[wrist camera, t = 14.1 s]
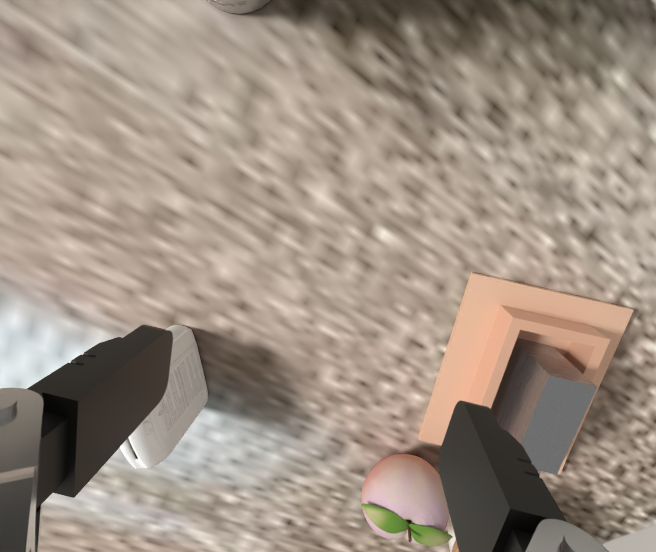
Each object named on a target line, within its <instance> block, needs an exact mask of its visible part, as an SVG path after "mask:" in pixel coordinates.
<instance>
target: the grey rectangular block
mask: <svg viewBox="0 0 656 552" xmlns="http://www.w3.org/2000/svg"><path fill="white" fill-rule="evenodd" d="M596 389H597V386H596V385H595V384H593V383H592V382H591V381H590V380H589V379H588V378H587V377H586V376H585V375H584V374H582V373H581V372H580V371H579V370H578V369H577V368H576V367H575V366H574V365H573V364H571V363H570V362H569V361H568V360H567V359H566V358H565V357H564V356H563V355H562V354H560V353H559V352H558V351H557V350H556V349H555V348H554V347H553V346H550V345H546V344H541V343H537V342H533V341H529V340H525V339H521V338H517V340H516V342H515V345H514V348H513V350H512V353H511V356H510V358H509V361H508V364H507V366H506V369H505V372H504V374H503V377H502V380H501V383H500V385H499V388H498V391H497V393H496V396H495V399H494V401H493V404H492V407H491V411H492V413H493V415H494V417H495V418H496V420H497V422H498V424H499V426H500V428H501V429H503V430H507V431H508V432H509V433H510V434H511V435H512V436H513V437H514V438H515V439H516V440H517V441H518V442H519V443H520V444H521V445H522V446H523V447H524V449H525V451H526V453H527V454H528V456H529V458H530V459H531V461H532V462H531V464H533V465H534V466H535V468H536V470H540V471H545V472H549V473H553V474H557V473H558V471H559V469H560V467H561V465H562V463H563V460H564V458H565V456H566V454H567V452H568V450H569V447H570V445H571V443H572V441H573V439H574V437H575V434H576V432H577V430H578V428H579V426H580V423H581V421H582V419H583V417H584V415H585V413H586V410H587V408H588V406H589V404H590V402H591V400H592V397H593V395H594V393H595V391H596Z"/></svg>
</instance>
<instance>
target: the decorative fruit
mask: <svg viewBox="0 0 656 552" xmlns="http://www.w3.org/2000/svg"><path fill="white" fill-rule="evenodd" d="M362 508H363V512H364V515H365V518H366V520H367V522H368V523H369V525H370V526H371V527H372V529H373V530H374V531H376V532H377V533H378V534H380V535H381V536H383V537H385V538H388V539H400V538H403V537H404V538H406V539H407V540H409V542H412V543H414V544H418V545H426V546H438V545H441V544H444V543H446V542H448V541H449V540H451V538H452V536H451V535H450V534H448V533H446V532H444V530H445V528H446V526H447V522H448V518H449V510H448V506H447V502H446V498H445V494H444V490H443V486H442V482H441V478H440V475H439V473H438V472H437V471H436V470H435V469H434V468H433V467H432V466H431V465H430V464H429V463H428V462H427V461H425V460H424V459H422V458H420V457H417V456H414V455H410V454H394V455H390V456H388V457H385V458H384V459H382V460H380V461H379V462H378V463H377V464H376V465H375V466H374V467H373V468H372V469H371V471H370V472H369V474H368V475H367V477H366V480H365V482H364V485H363V489H362Z"/></svg>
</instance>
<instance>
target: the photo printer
mask: <svg viewBox="0 0 656 552" xmlns="http://www.w3.org/2000/svg"><path fill="white" fill-rule="evenodd" d="M166 330H169V331H171V332H172V334H173V344H172V353H171V362H170V371H169V379H168V385H167V388H166V391H165V394H164V396H163V398H162V399H161V401H160V403H159V404H158V405H157V406H156V407H155V408H154V409H153V411H152V412H151V413H150V414H149V415H148V416H147V417H146V418H145V419H144V421H143V422H142V423H141V424H140V425H139V426H138V427H137V428H136V429H135V431H134V432H133V433H132V434H131V435H130V436H129V437H128V438H127V439H126V441H125V442H124V443H123V444H122V445H121V446H120V449H121V451H122V452H123V454H124V456H125V457H126V459H127V460H128V461H129V462H130V464H131V465H132V466H133V467H135V468H136V469H139V468H151V467H153V466H155V465H157V464H159V463H160V462H162V461H163V460H164V459H166V458H167V457H168V456H169V455H170V453H171V452H172V451H173V449H174V448H175V446H176V445H177V444H178V442H179V441H180V439H181V438H182V437H183V435H184V434H185V432H186V431H187V430H188V428H189V427H190V425H191V424H192V423H193V421H194V420H195V418H196V417H197V416H198V414H199V413H200V411H201V410H202V409H203V407H204V406H205V405H206V403H207V401H208V391H207V386H206V381H205V377H204V372H203V368H202V364H201V360H200V356H199V352H198V348H197V344H196V341H195V337H194V335H193V332H192V330H191V329H190V328H189V329H188V328H187V327H185V326H183V325H173V326H170V327H168V328H167V329H166Z"/></svg>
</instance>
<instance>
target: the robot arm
mask: <svg viewBox="0 0 656 552" xmlns="http://www.w3.org/2000/svg"><path fill="white" fill-rule="evenodd" d="M207 1H208V2H209V3H210V4H212V5H213V6H215V7H217V8H218V9H220V10H223V11H226V12H229V13H236V14H243V13H249V12H252V11H255V10H257V9H259V8H261V7H263V6H264V5H265V4H267V3H268V2H269V1H270V0H207ZM172 344H173V334H172V332H171V331H169V330H165V329H161V328H157V327H152V326H148V325H142V326H140V327H138V328H137V329H135V330H134V331H133V332H131V333H130V334H128V335H127V336H125V337H124V338H120V337H118V338H114V339H111V340H108V341H105V342H102V343H99V344H97V345H95V346H94V347H92V348H91V349H89V350H88V351H86V352H84V354H83V355H80V356H78V357H76V358H75V359H73V360H72V361H71V363H67V364H65V365H64V366H62V367H61V368H59V369H58V370H56V371H54V372H53V373H51V374H50V375H48V376H47V377H45V378H43V379H42V380H40V381H39V382H37V383H35V384H34V385H32V386H31V387H29V388H28V389H22V388H2V389H0V552H39V541H40V528H41V514H42V503H43V502H44V501H45V500H46V499H47V498H48V497H49V496H50V495H51V494H52V493H57V494H61V495H65V496H69V497H73V498H74V497H75V496H76V495H77V494H78V493H79V492H80V491H81V489H82V488H83V487H84V486H85V485H86V484H87V483H88V482H89V481H90V479H91V478H92V477H93V476H94V475H95V474H96V473H97V472H98V471H99V469H100V468H101V467H102V466H103V465H104V464H105V463H106V462H107V461H108V459H109V458H110V457H111V456H112V455H113V454H114V453H115V452H116V451H117V449H118V448H119V447H120V446H121V445H122V444H123V443H124V442H125V441H126V439H127V438H128V437H129V436H130V435H131V434H132V433H133V432H134V431H135V429H136V428H137V427H138V426H139V425H140V424H141V423H142V422H143V421H144V419H145V418H146V417H147V416H148V415H149V414H150V413H151V412H152V411H153V409H154V408H155V407H156V406H157V405H158V404H159V403H160V401H161V399H162V398H163V396H164V394H165V391H166V388H167V385H168V379H169V371H170V362H171V353H172ZM531 462H532V461H531V459H530V458H529V456H528V454H527V453H526V451H525V449H524V447H523V446H522V445H521V444H520V443H519V442H518V441H517V440H516V439H515V438H514V437H513V436H512V435H511V434H510V433H509V432H508V431H507V430H503V429H501V428H500V426H499V424H498V422H497V420H496V418H495V417H494V415H493V413H492V411H491V409H490V408H489V407H487V406H483V405H478V404H474V403H470V402H466V401H462V400H460V401H458V402H457V404H456V406H455V408H454V411H453V414H452V416H451V419H450V422H449V425H448V428H447V431H446V434H445V437H444V440H443V443H442V446H441V449H440V454H439V474H440V478H441V482H442V486H443V490H444V494H445V498H446V502H447V506H448V510H449V514H450V518H451V522H452V526H453V529H454V533H455V537H456V541H457V545H458V549H459V552H609V551H608V550H607V549H606V548H605V547H604V546H603V545H602V544H601V543H600V542H599V541H597V540H596V539H595V538H594V537H592V536H591V535H589V534H588V533H587V532H585V531H583V530H582V529H580V528H578V527H577V526H574V525H572V524H570V523H568V522H567V521H566V519H565V518H564V516H563V514H562V512H561V511H560V509H559V507H558V506H557V504H556V502H555V500H554V499H553V497H552V495H551V494H550V492H549V490H548V489H547V487H546V485H545V483H544V482H543V480H542V478H539V473H538V471H537V470H536V468H535V466H534V465H533V464H531Z"/></svg>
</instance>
